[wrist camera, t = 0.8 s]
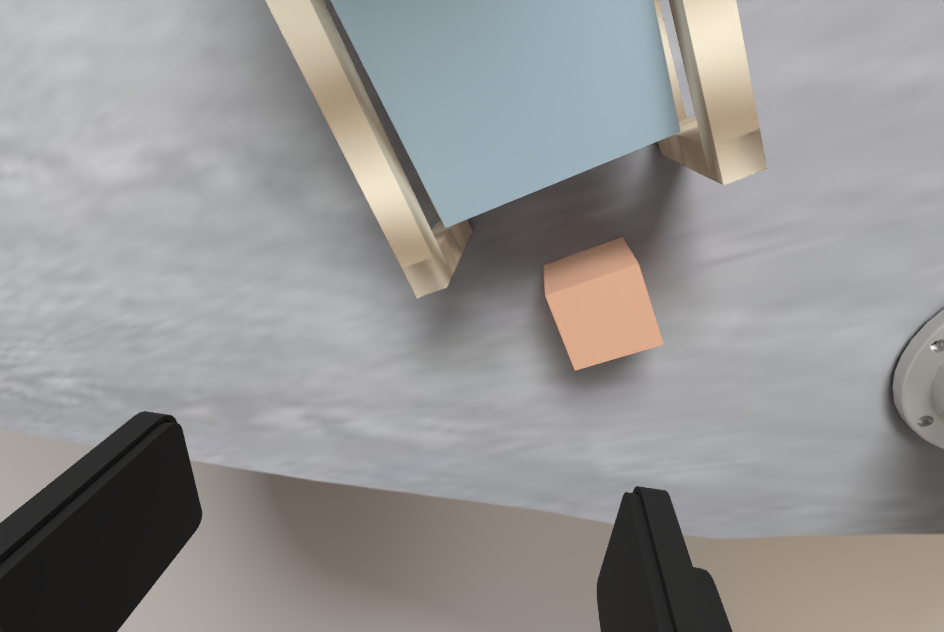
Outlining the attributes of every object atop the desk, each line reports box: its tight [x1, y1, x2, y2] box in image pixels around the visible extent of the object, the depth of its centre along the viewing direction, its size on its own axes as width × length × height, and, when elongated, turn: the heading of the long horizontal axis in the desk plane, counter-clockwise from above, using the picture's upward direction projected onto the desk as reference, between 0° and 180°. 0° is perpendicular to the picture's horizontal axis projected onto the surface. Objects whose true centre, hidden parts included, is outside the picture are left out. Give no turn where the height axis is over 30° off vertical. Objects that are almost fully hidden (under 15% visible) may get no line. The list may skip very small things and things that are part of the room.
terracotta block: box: [543, 237, 664, 371], centre depth 28 cm, size 5×5×5 cm
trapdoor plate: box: [330, 0, 681, 228], centre depth 17 cm, size 12×10×1 cm
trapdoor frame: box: [265, 0, 767, 298], centre depth 21 cm, size 16×14×10 cm
